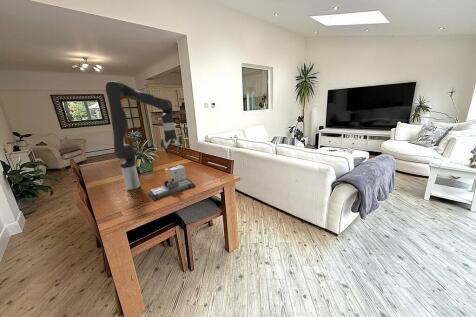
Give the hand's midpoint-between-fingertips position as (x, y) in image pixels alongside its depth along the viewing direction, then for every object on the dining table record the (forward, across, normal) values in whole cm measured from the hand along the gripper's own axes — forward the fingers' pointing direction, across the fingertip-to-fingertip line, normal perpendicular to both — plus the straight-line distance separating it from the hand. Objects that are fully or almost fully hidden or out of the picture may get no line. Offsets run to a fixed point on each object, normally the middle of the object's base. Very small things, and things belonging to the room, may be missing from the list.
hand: (173, 151), depth 137 cm
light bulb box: (+26, -4, -10) cm, 29 cm away
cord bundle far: (+26, -6, +5) cm, 27 cm away
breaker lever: (+22, +7, +5) cm, 24 cm away
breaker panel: (+26, +7, +5) cm, 27 cm away
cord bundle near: (+26, +19, +5) cm, 33 cm away
